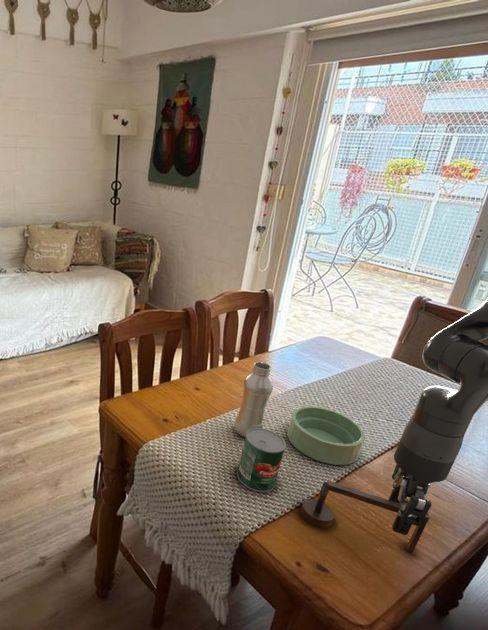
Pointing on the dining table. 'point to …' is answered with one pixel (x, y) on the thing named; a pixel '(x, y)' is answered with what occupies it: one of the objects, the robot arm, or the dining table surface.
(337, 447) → the bowl
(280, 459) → the canned tomato
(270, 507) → the dining table surface
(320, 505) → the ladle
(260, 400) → the plastic bottle
